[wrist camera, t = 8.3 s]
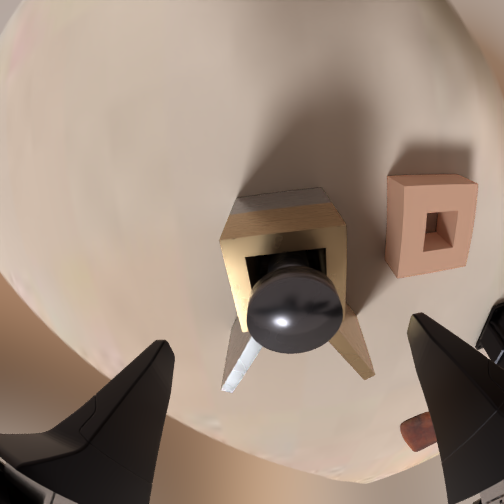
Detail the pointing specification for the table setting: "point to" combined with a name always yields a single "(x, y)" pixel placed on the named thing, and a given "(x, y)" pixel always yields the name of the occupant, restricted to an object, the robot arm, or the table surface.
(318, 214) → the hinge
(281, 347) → the hinge pin
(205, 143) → the table surface
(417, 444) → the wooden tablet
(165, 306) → the table surface
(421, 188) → the pin holder
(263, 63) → the table surface
